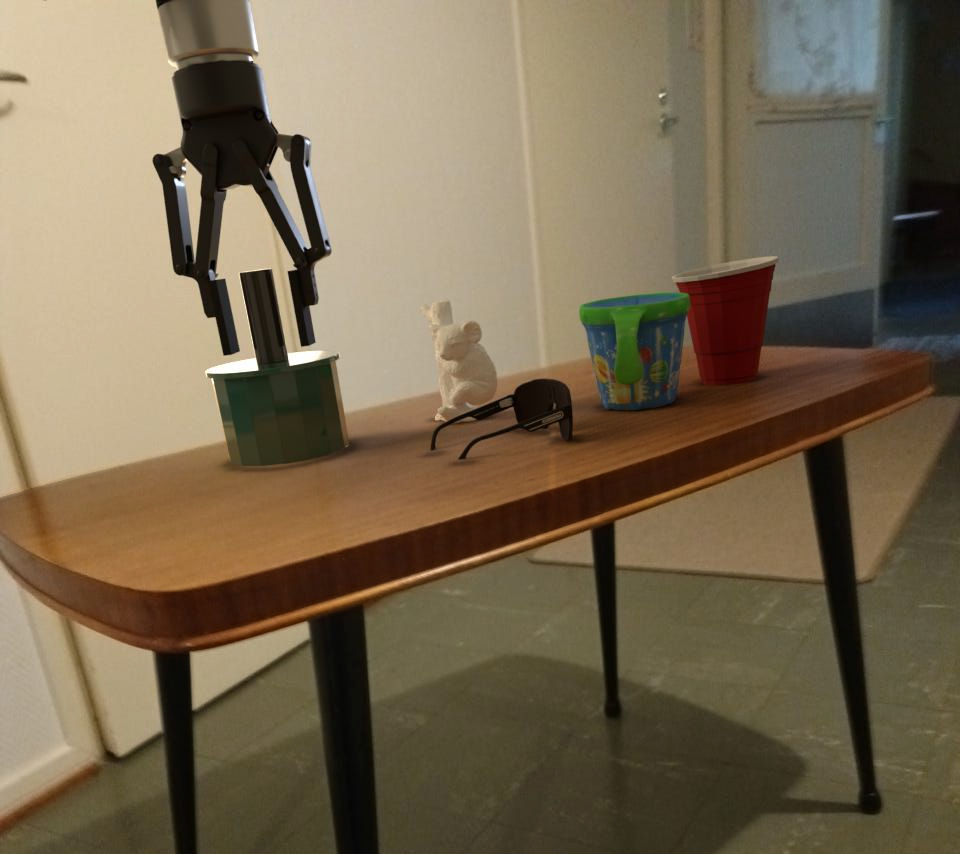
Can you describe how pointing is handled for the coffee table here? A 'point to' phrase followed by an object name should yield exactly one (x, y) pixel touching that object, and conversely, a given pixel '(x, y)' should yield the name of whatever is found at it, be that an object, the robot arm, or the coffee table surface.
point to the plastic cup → (728, 317)
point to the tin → (282, 416)
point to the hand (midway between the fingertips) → (269, 348)
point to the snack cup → (636, 348)
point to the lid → (267, 334)
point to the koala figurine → (460, 363)
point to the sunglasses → (526, 410)
